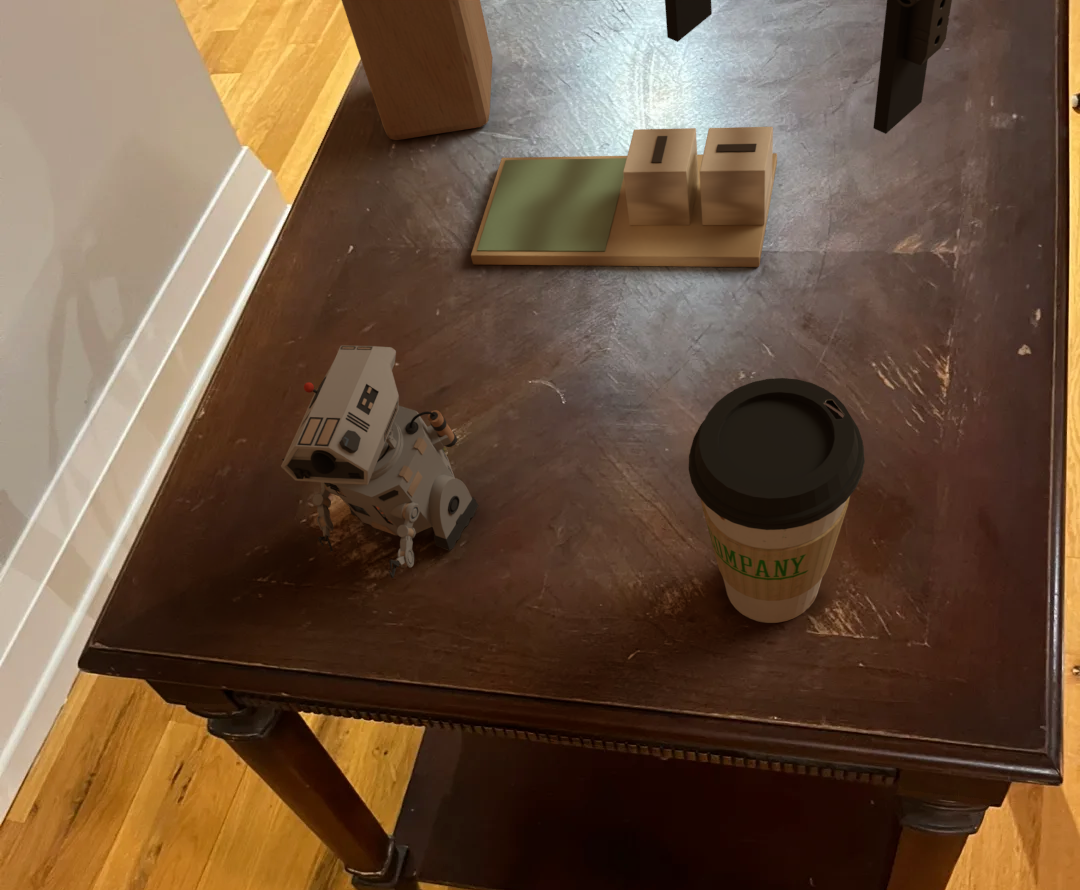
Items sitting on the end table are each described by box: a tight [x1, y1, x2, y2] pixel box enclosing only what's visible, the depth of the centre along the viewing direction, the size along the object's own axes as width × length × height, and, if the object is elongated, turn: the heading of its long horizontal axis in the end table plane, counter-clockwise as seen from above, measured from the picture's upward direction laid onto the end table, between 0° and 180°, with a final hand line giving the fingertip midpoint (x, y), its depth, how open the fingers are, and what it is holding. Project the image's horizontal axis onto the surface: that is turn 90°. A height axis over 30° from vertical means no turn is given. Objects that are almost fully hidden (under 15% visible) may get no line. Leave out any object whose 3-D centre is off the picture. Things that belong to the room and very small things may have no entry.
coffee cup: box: [688, 377, 866, 624], centre depth 67 cm, size 10×10×15 cm
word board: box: [470, 126, 778, 268], centre depth 89 cm, size 24×12×6 cm, turn 78°
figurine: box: [280, 345, 479, 579], centre depth 74 cm, size 9×12×15 cm
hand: (788, 69), depth 56 cm, fingers open, 13 cm apart
